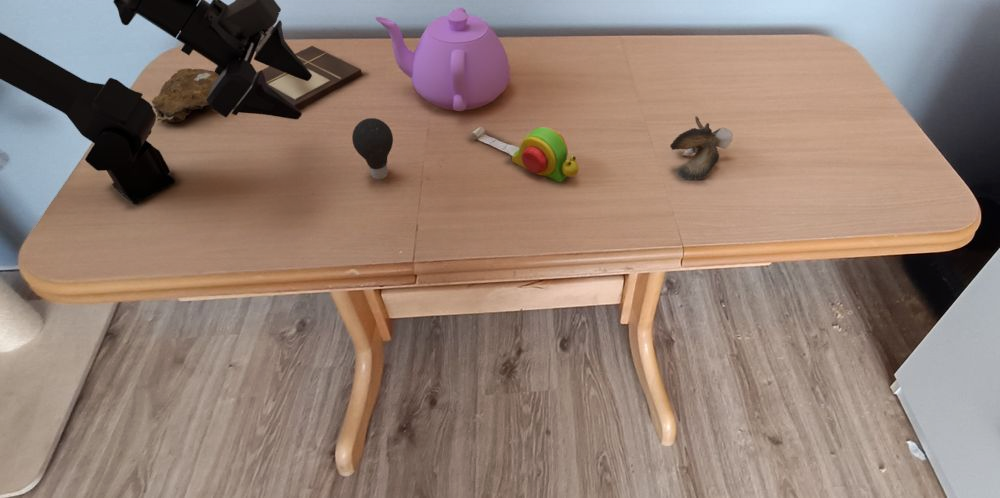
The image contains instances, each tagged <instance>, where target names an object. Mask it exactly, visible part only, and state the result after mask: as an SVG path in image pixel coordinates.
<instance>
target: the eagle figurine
mask: <svg viewBox="0 0 1000 498" xmlns="http://www.w3.org/2000/svg"><path fill="white" fill-rule="evenodd" d="M694 119H695V123H696V126H697V127H698V128H696V127H693V128H690V129H688V130H685V131H683V132H682V133H680V134H679V135H678V136H677V137H675V139H673V141H672V143H670V145H669V146H670V149H671V151H675V150H685V151H684V152H683V154H682V157H684V156H690V155H692V154H694V155H693V156H692V157H691V158H690V159H689V160H688V161H687V162H685V163H684V164H682V165H681V166H680V167H679V168H677V172H678V175H679V176H680V178H682V179H683V180H689V181H692V180H695V181H697V180H701V179H704V178H705V177H708V175H709V174H710V173H711V171H712V170H713V168H714V167H715V166H716V164H717V163H718V162H719V160H720V154H719V151H718V148H721V149H727V148H729V146H730V145H731V142H733V137H734V134H733V133H732V131H731V130H730V129H729V128H727V127H719V128H718V129H716V130H715V131H713V130H712V129H711V127H710V123H709V122H706V124H704V125H703V124H702V123H701V121H700V118H699V116H697V115H696V116H695V117H694ZM712 131H713V132H712Z"/></svg>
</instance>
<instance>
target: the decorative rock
mask: <svg viewBox="0 0 1000 498" xmlns="http://www.w3.org/2000/svg"><path fill="white" fill-rule="evenodd" d="M214 71H215V70H208V69H204V68H199V69H198V68H194V69H193V68H181V69H178V70H176V72H175V73H173V74H172V75H171V76H170V79H168V80H167V81H165V82H164V83H163V85H162V86H161V89H160V92H159V93H158V95H157V96H154V98H153V99H152V100H151V103H152V107H153V109H154V110H155V112H156V121H157V122H159V121H161V122H163V123H166V124H169V123H170V124H173V123H181V122H182V121H184V120H185V118H186V116H188V115H190V114H191V112H192V111H193V110H198V109H199V110H202V109H203V107H205V106H209V104H208V101H207V97H208V95H209V93H210V91H211V89H212V87H213V84H214V83H215V81H216V80H217V79H218V77H219V76H220V75H219V74H217V73H215V72H214Z"/></svg>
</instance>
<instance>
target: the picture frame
mask: <svg viewBox="0 0 1000 498" xmlns="http://www.w3.org/2000/svg"><path fill="white" fill-rule="evenodd" d="M295 55H296V56H297V57H298V58H299V59H300V61H301V62H302V63H303V64H304V66H305V67H306V68H307V69H308V70H309V72H310V73H311V74H312V77H311V79H310V80H309V81H305V80H303V79H300V78H297V77H294V76H292V75H289V74H287V73H285V72H282V71H280V70H277V69H275V68H273V67H270V66H267V67H265V68H263V69H261V70H262V71H263V74H264V77H265V80H266V82H267V85H268V86H269V87H270V88H272V89H273V90H274V91H276V92H277V93H278V94H279V95H281V96H282V97H283V98H285V99H286V100H287V101H289V102H290V103H291V104H292V105H294V106H295V107H296V108H297V109H298V110H299V111H300V110H301V109H303V108H305V107H307V106H308V105H311V104H312V103H314V102H316V101H317V100H319V99H322V98H323V97H325V96H327V95H329V94H330V93H332V92H334V91H336V90H338V89H339V88H342V87H343V86H345V85H347V84H348V83H350V82H353V81H354V80H356V79H358V78H360V77H361V76H363V71H362V69H361V68H359V67H358V66H355V65H353V64H351V63H349V62H347V61H345V60H343V59H340V58H338V57H336V56H335V55H332V54H331V53H328V52H326V51H324V50H323V49H320V48H318V47H316V46H314V45H311V46H308V47H306V48H305V49H302V50H300V51H298V52H296V53H295ZM261 70H259V71H256V75H255V76H257V75H258V73H259V72H260V71H261Z"/></svg>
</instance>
